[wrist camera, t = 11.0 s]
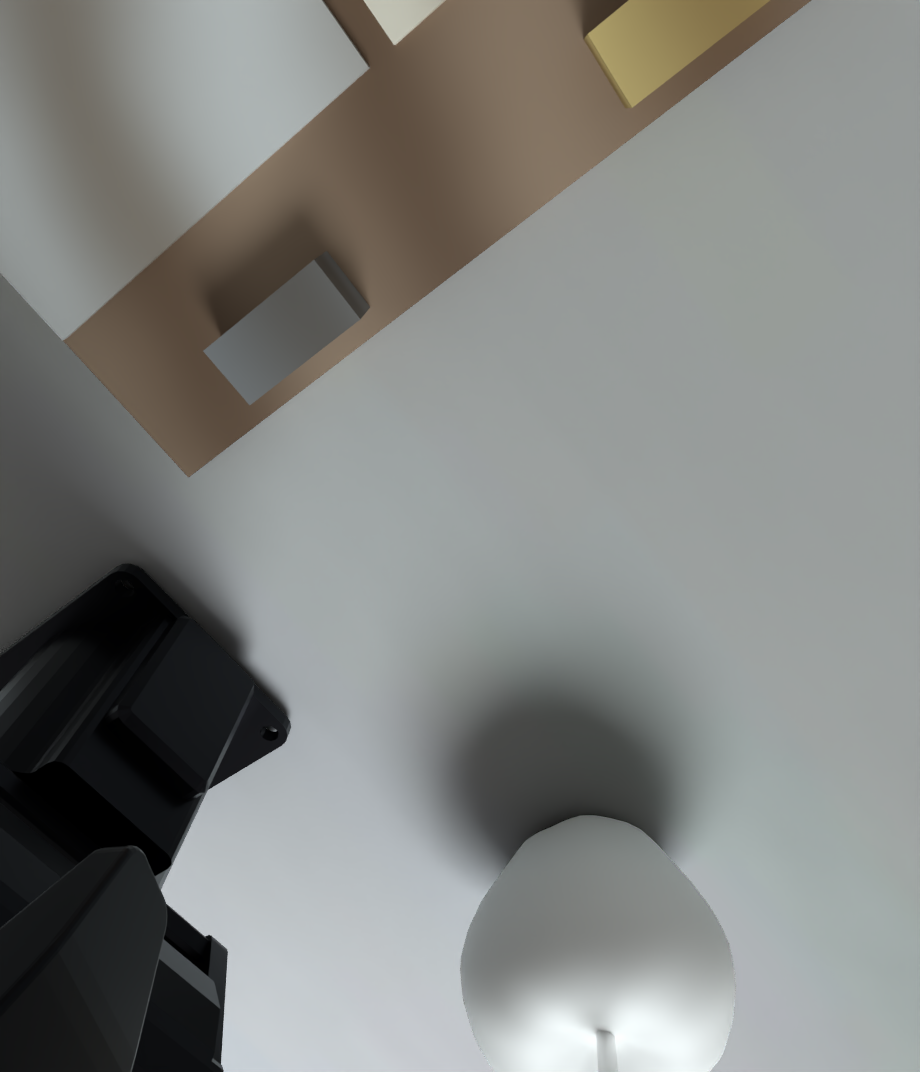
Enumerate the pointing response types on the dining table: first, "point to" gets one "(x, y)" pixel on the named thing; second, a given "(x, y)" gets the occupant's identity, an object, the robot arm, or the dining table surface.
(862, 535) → the dining table surface
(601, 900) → the plain white apple
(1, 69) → the board
